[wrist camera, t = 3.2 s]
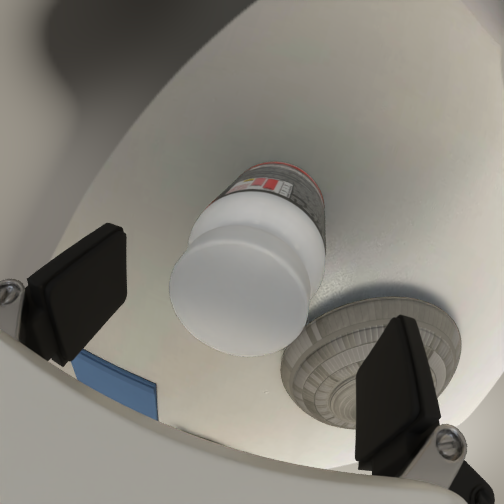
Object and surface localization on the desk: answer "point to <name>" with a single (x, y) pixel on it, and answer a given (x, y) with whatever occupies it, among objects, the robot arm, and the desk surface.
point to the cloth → (116, 383)
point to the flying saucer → (360, 353)
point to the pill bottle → (253, 262)
